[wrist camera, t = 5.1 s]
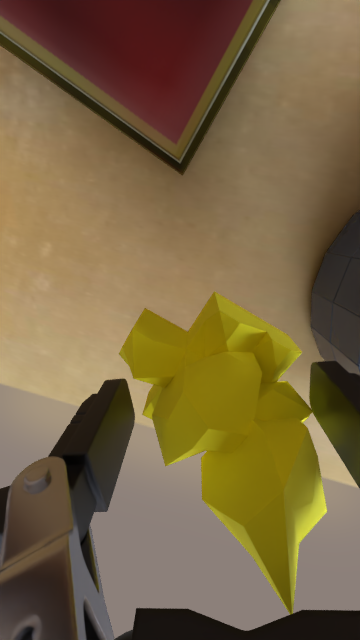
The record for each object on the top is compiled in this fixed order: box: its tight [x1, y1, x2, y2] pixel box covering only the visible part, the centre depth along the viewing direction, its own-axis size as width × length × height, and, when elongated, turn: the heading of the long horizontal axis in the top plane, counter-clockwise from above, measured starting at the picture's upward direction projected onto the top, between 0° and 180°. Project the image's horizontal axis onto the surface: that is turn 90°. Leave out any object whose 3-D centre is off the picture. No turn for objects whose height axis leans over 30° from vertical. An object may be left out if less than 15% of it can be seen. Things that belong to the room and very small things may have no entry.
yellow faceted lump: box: [119, 291, 327, 615], centre depth 8 cm, size 6×8×8 cm
